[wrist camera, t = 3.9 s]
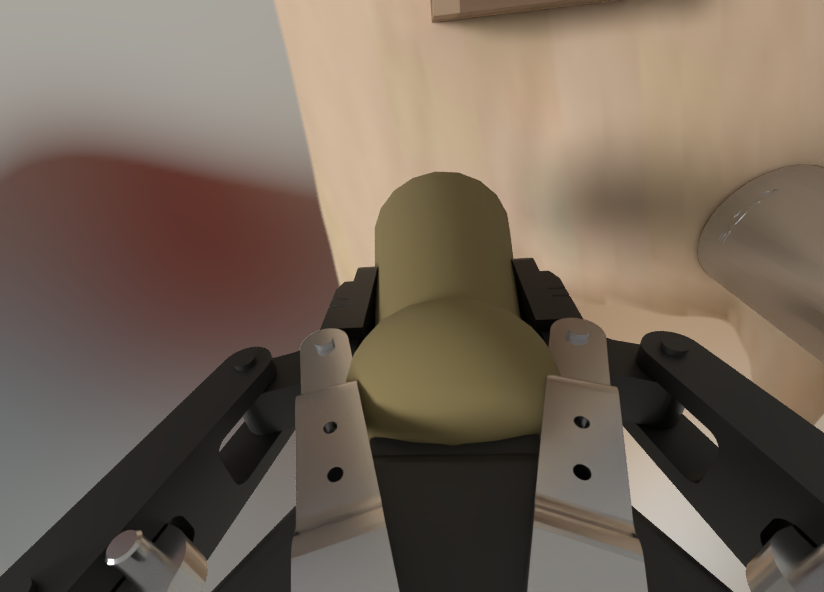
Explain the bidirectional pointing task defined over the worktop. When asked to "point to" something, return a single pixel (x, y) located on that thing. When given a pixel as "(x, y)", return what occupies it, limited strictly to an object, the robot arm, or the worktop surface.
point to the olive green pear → (448, 322)
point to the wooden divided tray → (494, 7)
